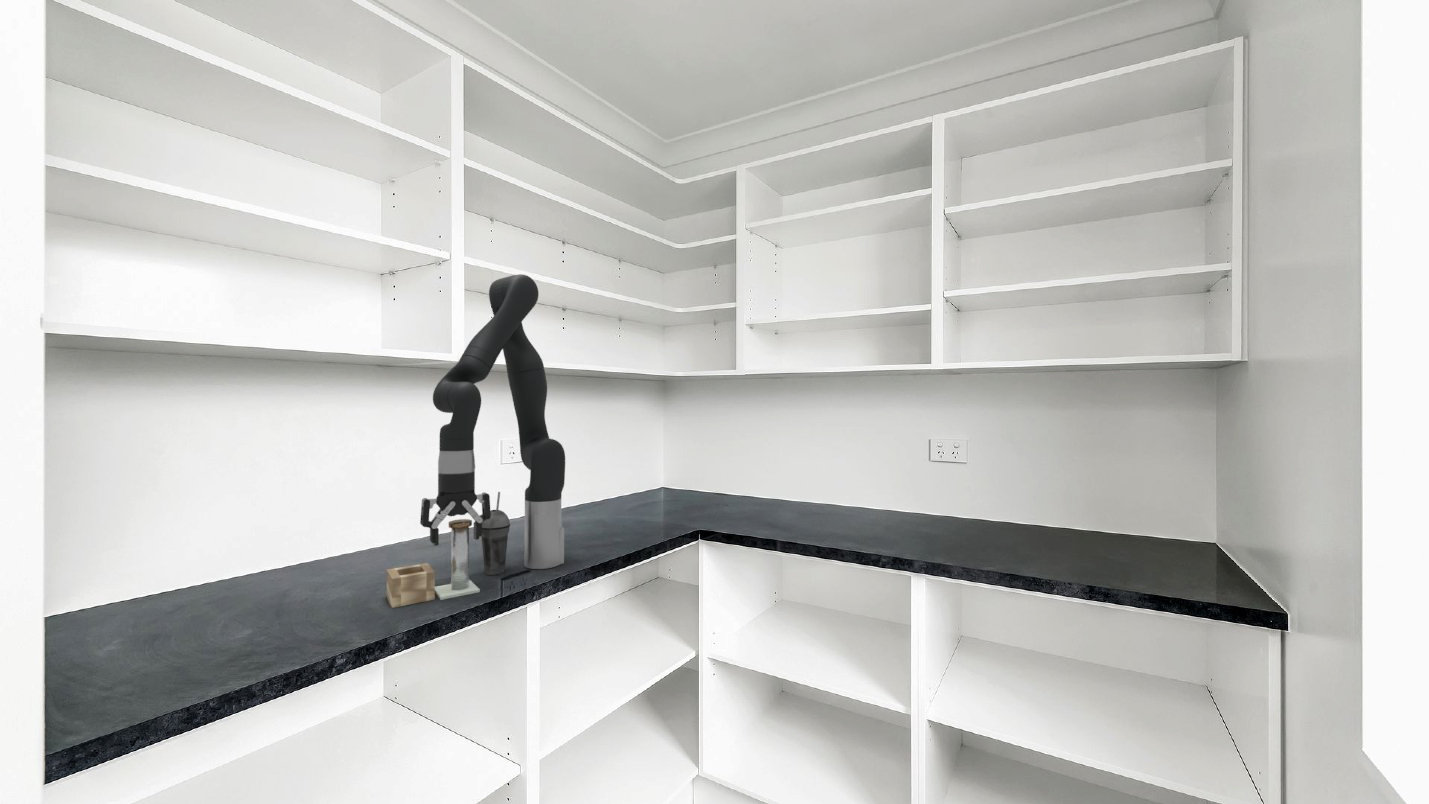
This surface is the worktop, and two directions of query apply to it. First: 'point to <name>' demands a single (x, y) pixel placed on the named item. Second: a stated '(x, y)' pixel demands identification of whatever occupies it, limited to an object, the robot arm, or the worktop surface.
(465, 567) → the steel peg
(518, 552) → the worktop surface
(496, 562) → the beverage cup
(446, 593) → the sage mat
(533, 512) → the robot arm
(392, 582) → the oak eye block
